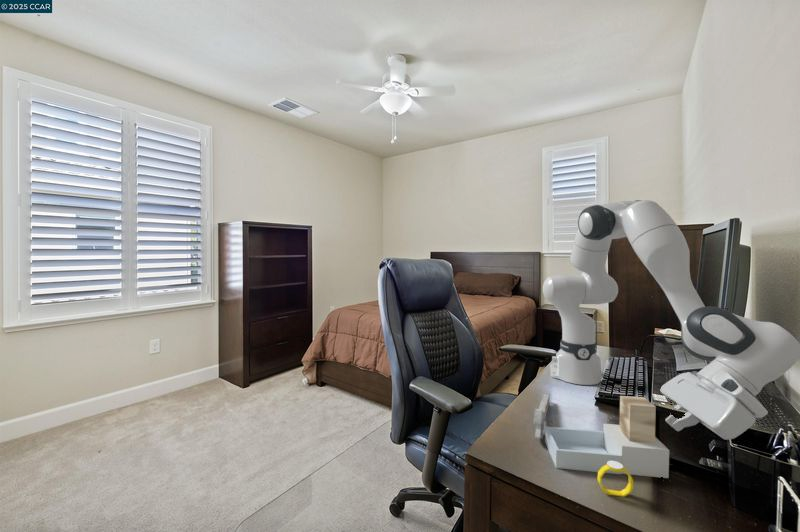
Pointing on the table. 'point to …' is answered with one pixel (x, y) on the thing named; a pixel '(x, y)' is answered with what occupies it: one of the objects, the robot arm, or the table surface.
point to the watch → (616, 468)
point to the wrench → (541, 416)
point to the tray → (578, 449)
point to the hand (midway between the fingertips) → (671, 425)
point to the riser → (637, 453)
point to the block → (637, 419)
